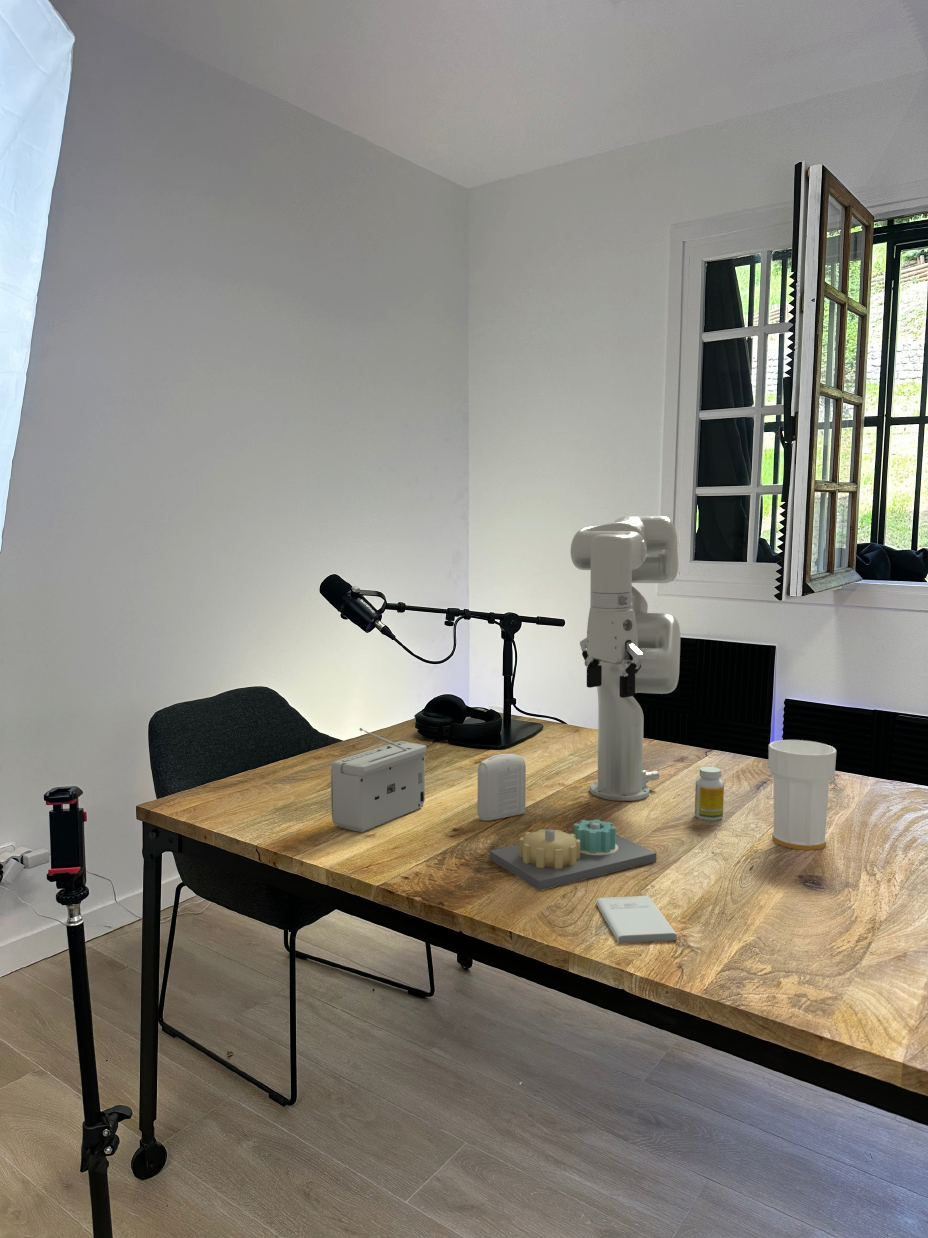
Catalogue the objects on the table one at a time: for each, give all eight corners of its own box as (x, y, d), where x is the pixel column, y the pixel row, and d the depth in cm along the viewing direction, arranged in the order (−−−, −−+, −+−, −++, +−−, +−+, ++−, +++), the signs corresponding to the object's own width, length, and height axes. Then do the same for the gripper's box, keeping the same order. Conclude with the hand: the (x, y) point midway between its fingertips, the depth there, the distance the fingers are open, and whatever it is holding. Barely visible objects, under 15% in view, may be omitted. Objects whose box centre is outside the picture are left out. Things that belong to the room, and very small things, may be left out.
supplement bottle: (689, 814, 169) (690, 767, 168) (711, 811, 171) (713, 764, 170) (705, 822, 164) (707, 774, 163) (728, 819, 166) (730, 771, 165)
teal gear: (597, 836, 152) (598, 817, 152) (623, 849, 146) (624, 828, 146) (566, 843, 149) (566, 823, 148) (591, 856, 143) (591, 835, 142)
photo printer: (515, 808, 173) (516, 749, 172) (528, 814, 170) (529, 753, 168) (474, 817, 168) (473, 756, 166) (486, 823, 164) (486, 761, 163)
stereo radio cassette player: (399, 800, 179) (398, 707, 177) (430, 807, 174) (430, 711, 172) (329, 828, 162) (327, 725, 160) (361, 837, 157) (359, 730, 155)
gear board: (600, 835, 157) (600, 803, 157) (656, 861, 144) (656, 827, 144) (489, 859, 146) (489, 825, 145) (539, 890, 133) (539, 853, 132)
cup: (752, 835, 157) (755, 743, 155) (799, 827, 161) (802, 737, 160) (798, 856, 147) (801, 757, 145) (847, 847, 151) (851, 751, 149)
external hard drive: (618, 947, 116) (596, 907, 128) (677, 944, 116) (649, 905, 129) (618, 935, 116) (596, 897, 128) (677, 933, 116) (649, 894, 129)
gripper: (658, 604, 152) (657, 698, 154) (597, 595, 167) (597, 680, 169) (625, 607, 148) (624, 703, 151) (566, 598, 163) (566, 685, 166)
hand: (610, 691), depth 160 cm, fingers open, 9 cm apart
